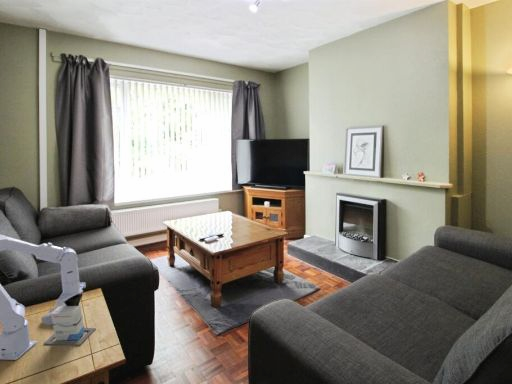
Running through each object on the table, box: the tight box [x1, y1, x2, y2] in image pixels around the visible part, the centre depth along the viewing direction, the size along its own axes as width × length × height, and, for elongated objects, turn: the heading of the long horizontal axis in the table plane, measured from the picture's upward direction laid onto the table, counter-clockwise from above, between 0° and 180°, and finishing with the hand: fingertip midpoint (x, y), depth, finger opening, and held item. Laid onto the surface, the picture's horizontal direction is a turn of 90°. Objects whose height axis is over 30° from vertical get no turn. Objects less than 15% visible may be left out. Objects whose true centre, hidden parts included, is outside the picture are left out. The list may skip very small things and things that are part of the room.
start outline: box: [43, 327, 97, 347], centre depth 115 cm, size 10×14×1 cm
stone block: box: [41, 303, 66, 326], centre depth 129 cm, size 12×5×10 cm
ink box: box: [51, 305, 85, 341], centre depth 114 cm, size 8×5×12 cm, turn 92°
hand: (74, 312), depth 117 cm, fingers closed
